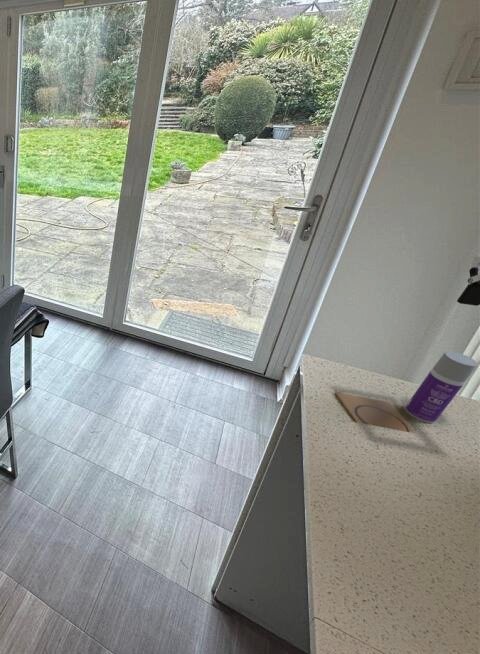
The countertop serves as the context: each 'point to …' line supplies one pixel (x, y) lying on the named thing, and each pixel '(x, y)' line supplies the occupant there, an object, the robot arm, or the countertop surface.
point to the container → (440, 386)
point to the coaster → (374, 412)
